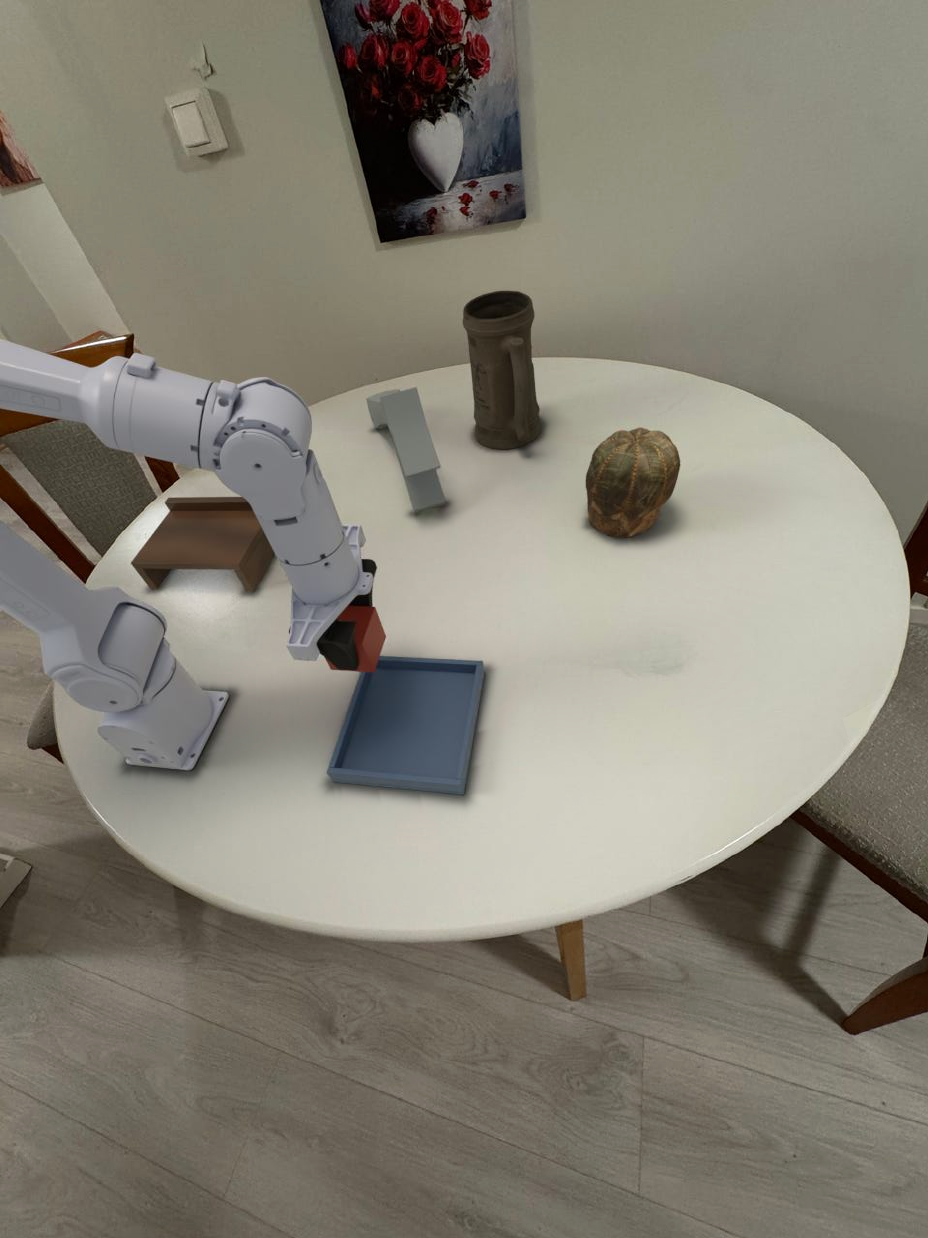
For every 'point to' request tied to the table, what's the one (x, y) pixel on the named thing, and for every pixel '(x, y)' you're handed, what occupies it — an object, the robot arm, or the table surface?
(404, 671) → the tray
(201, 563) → the shelf
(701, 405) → the table surface
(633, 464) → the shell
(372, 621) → the block
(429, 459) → the faucet
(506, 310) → the beer stein
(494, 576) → the table surface
